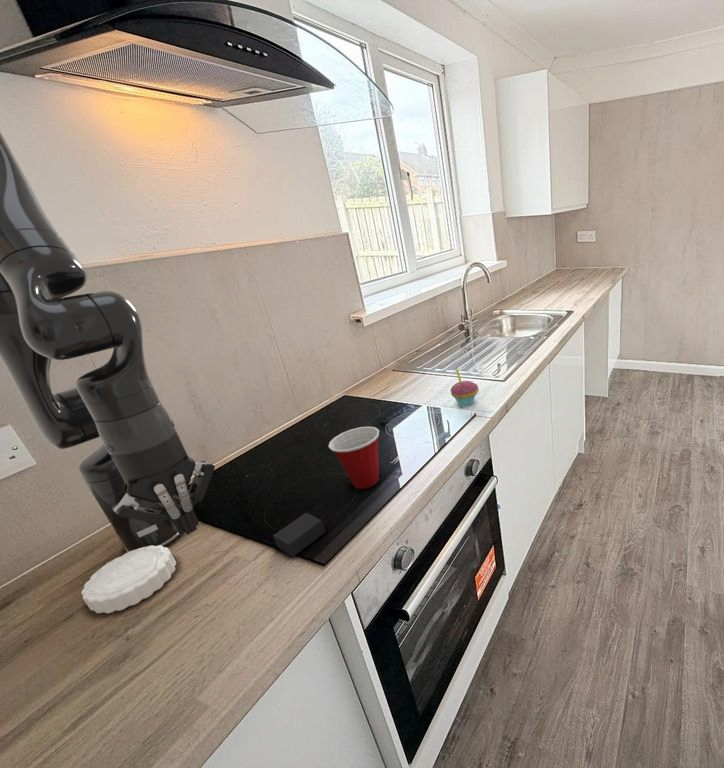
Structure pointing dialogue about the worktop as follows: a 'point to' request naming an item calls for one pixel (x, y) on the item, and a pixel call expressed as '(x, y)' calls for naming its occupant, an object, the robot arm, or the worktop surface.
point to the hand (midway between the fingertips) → (189, 530)
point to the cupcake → (464, 391)
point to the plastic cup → (358, 455)
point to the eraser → (299, 534)
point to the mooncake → (128, 579)
